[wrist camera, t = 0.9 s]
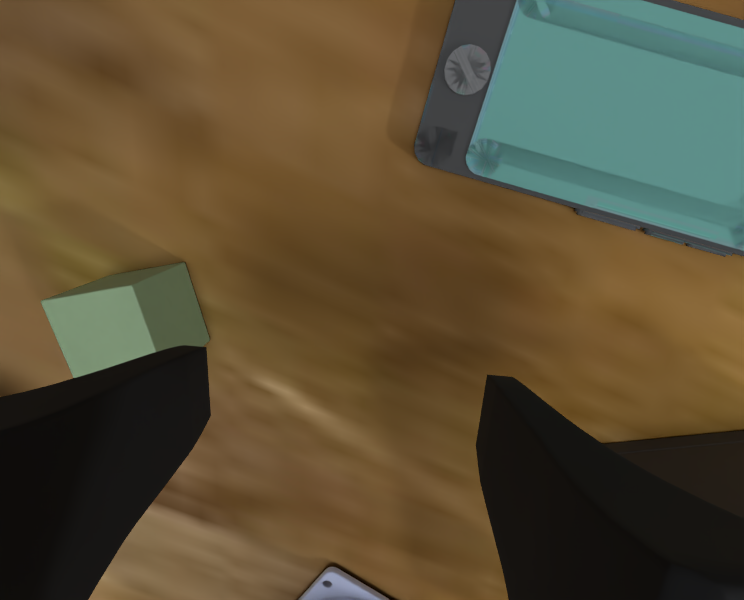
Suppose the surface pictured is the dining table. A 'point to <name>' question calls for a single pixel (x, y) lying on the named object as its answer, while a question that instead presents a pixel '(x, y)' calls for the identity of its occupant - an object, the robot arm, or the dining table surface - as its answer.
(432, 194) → the dining table surface
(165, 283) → the block
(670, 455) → the black drawer box
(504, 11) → the smartphone
